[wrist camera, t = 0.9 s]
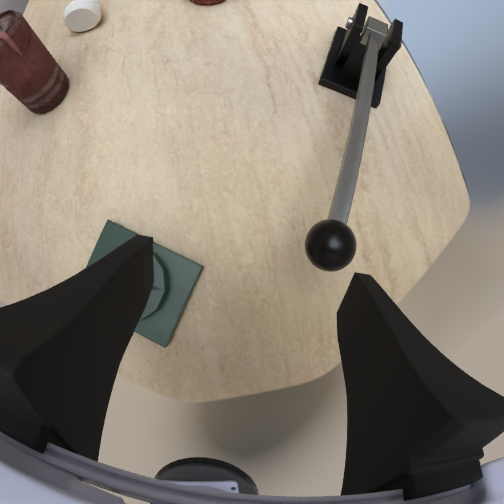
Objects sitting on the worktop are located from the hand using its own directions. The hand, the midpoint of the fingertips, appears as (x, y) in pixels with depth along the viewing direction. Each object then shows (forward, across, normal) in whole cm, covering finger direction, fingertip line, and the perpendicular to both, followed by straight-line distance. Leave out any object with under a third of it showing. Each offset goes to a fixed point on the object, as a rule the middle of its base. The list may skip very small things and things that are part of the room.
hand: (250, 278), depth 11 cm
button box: (+12, +9, +13) cm, 20 cm away
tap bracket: (+30, -9, -9) cm, 33 cm away
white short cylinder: (+33, +27, -13) cm, 45 cm away
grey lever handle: (+17, -7, -4) cm, 19 cm away
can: (+25, +27, -2) cm, 37 cm away
